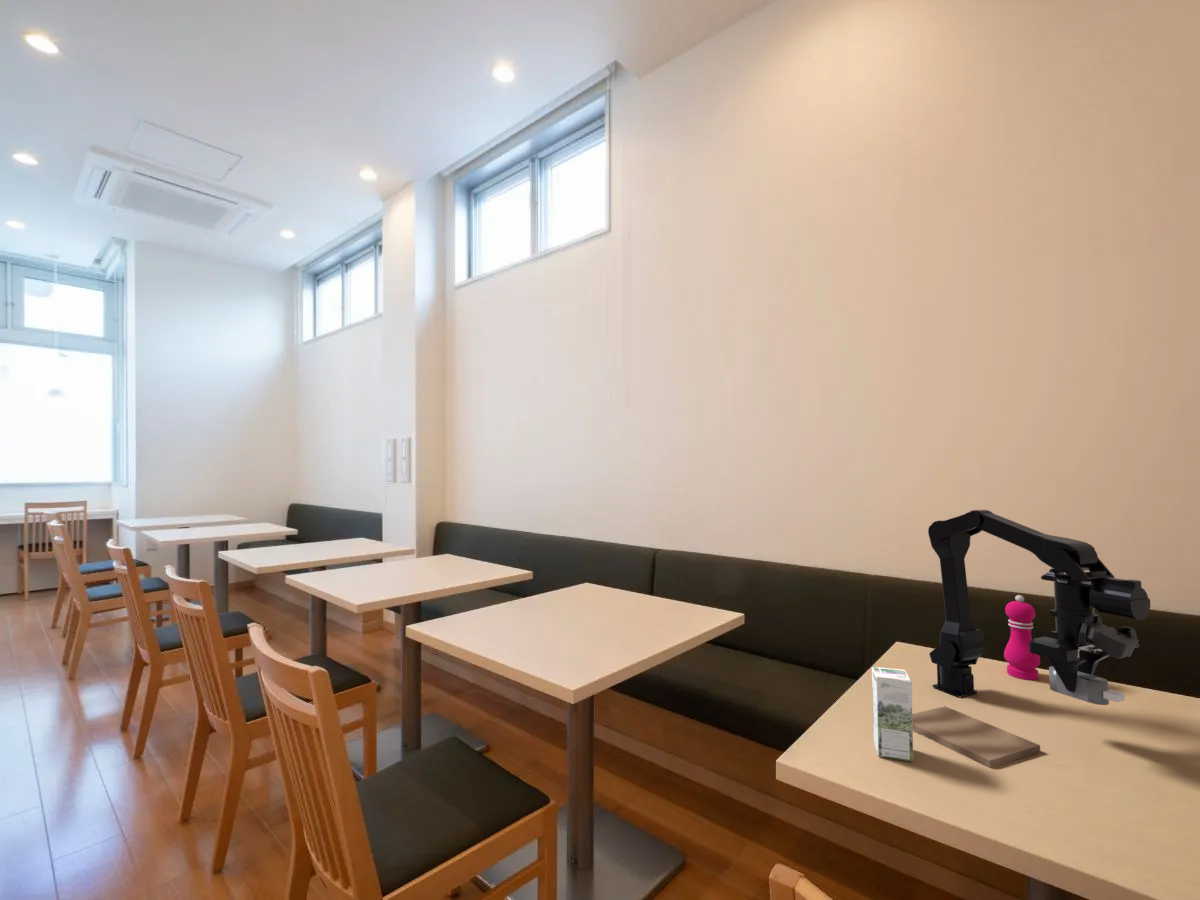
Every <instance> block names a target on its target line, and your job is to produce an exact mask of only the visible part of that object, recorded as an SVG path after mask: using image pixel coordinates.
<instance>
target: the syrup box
mask: <svg viewBox="0 0 1200 900" xmlns="http://www.w3.org/2000/svg"><path fill="white" fill-rule="evenodd" d="M871 684H872V685H871V686H872V688H871V691H872V694H871V695H872V738H873V740H872V741H873V744H874V747H875V751H876V753H877V756H878V757H880V758H886V759H891V760H892V759H893V760H898V761H906V762H914V741H913V740H914V734H913V733H914V731H913V726H912V714H913V683H912V681H911V679H910V677H909V675H908V673H907V671H906V669H899V668H891V667H890V668H889V667H879V666H872V667H871Z"/></svg>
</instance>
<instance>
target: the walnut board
mask: <svg viewBox="0 0 1200 900" xmlns="http://www.w3.org/2000/svg"><path fill="white" fill-rule="evenodd" d="M912 726H913V730H914V731H913V732H915V731H916V732H915V733H917V732H918V733H917V734H919V733H920V734H919V735H921V734H922V735H921V736H923V735H924V736H923V737H925V736H926V737H925V738H927V737H928V738H927V739H929V740H931V739H932V740H931V741H933V740H934V742H935V741H936V743H937V742H938V744H939V745H942V746H943V747H946V748H948V749H950V750H952V751H954V752H957V753H958V754H961V755H963V757H964V756H965V757H966V758H969V759H971V760H973V761H974V762H977V763H979V764H981V765H984V766H986V767H988V768H994V767H997V766H999V765H1003V764H1006V763H1010V762H1012V761H1015V760H1016V761H1017V760H1019V759H1022V758H1025V757H1029V756H1031V755H1035V754H1038V753H1041V745H1040V744H1039V743H1035V742H1033V741H1031V740H1028V739H1026V738H1023V737H1021V736H1019V735H1016V734H1013V733H1011V732H1008V731H1006V730H1004V729H1001V728H999V727H997V726H994V725H992V724H989V723H987V722H984V721H982V720H979V719H977V718H975V717H972V716H970V715H967V714H965V713H963V712H960V711H958V710H955V709H953V708H951V707H948V706H941V707H936V708H931V709H927V710H922V711H919V712H914V713H912Z"/></svg>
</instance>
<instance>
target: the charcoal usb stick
mask: <svg viewBox="0 0 1200 900" xmlns="http://www.w3.org/2000/svg"><path fill="white" fill-rule="evenodd" d="M1048 676H1049V677H1048V679H1049V690H1051V691H1052V692H1055V693H1057V694H1061V695H1065V696H1067V697H1070V698H1074V699H1077V700H1081V701H1084V702H1087V703H1089V704H1090V703H1091V704H1092V705H1093V704H1094V705H1099V706H1108V705H1109V704H1110V701H1113V702H1116V703H1119V702H1123V701H1126V699H1125V697H1126V696H1125V693H1124V692H1122V691H1118V690H1114V689H1111V688H1110V689H1109V681H1108V679H1106V678H1103V677H1100V676H1097V675H1094V674H1093V675H1090V674H1086V673H1083V672H1079V671H1078V672H1077V682H1076V689H1075V692H1070V691H1068V690H1067V689H1066V687H1065V686H1064V684H1063V682H1062V680H1061V679H1060V677H1059V675H1058V674H1057V672H1056V670H1055V669H1054V667H1053V666H1049V667H1048Z"/></svg>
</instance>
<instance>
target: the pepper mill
mask: <svg viewBox="0 0 1200 900" xmlns="http://www.w3.org/2000/svg"><path fill="white" fill-rule="evenodd" d="M1014 599H1015V600H1012V601H1010V602H1008V603H1007V604H1006V605H1005V615H1006V616H1007V617H1008V618H1009V619H1008V620H1007V622H1008V624H1007V625H1008V626H1009V627H1010V636H1009V640H1008V642H1007V644H1006V646H1005V649H1004V650H1003V651H1004V652H1003V657H1004V659H1005V661H1006V662H1007V663H1008V665H1006V673H1007V675H1008V676H1010V677H1013V678H1017V679H1019V680H1025V681H1026V680H1027V681H1035V680H1038V679H1039V676H1040V675H1039V670H1038V669H1037V667H1039V666H1040V665H1041V656H1040V655H1037V654H1033V653H1030V652H1029V642H1030V641H1031V640H1033V638H1032V629H1034V622H1032V621H1033V620H1034V619H1035V618H1036V610H1035V608H1034V607H1033V606H1032V605H1031V604H1030V603H1028V602H1027V601H1025V597H1024V596H1023V595H1020V594H1018V595H1015V597H1014Z"/></svg>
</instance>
